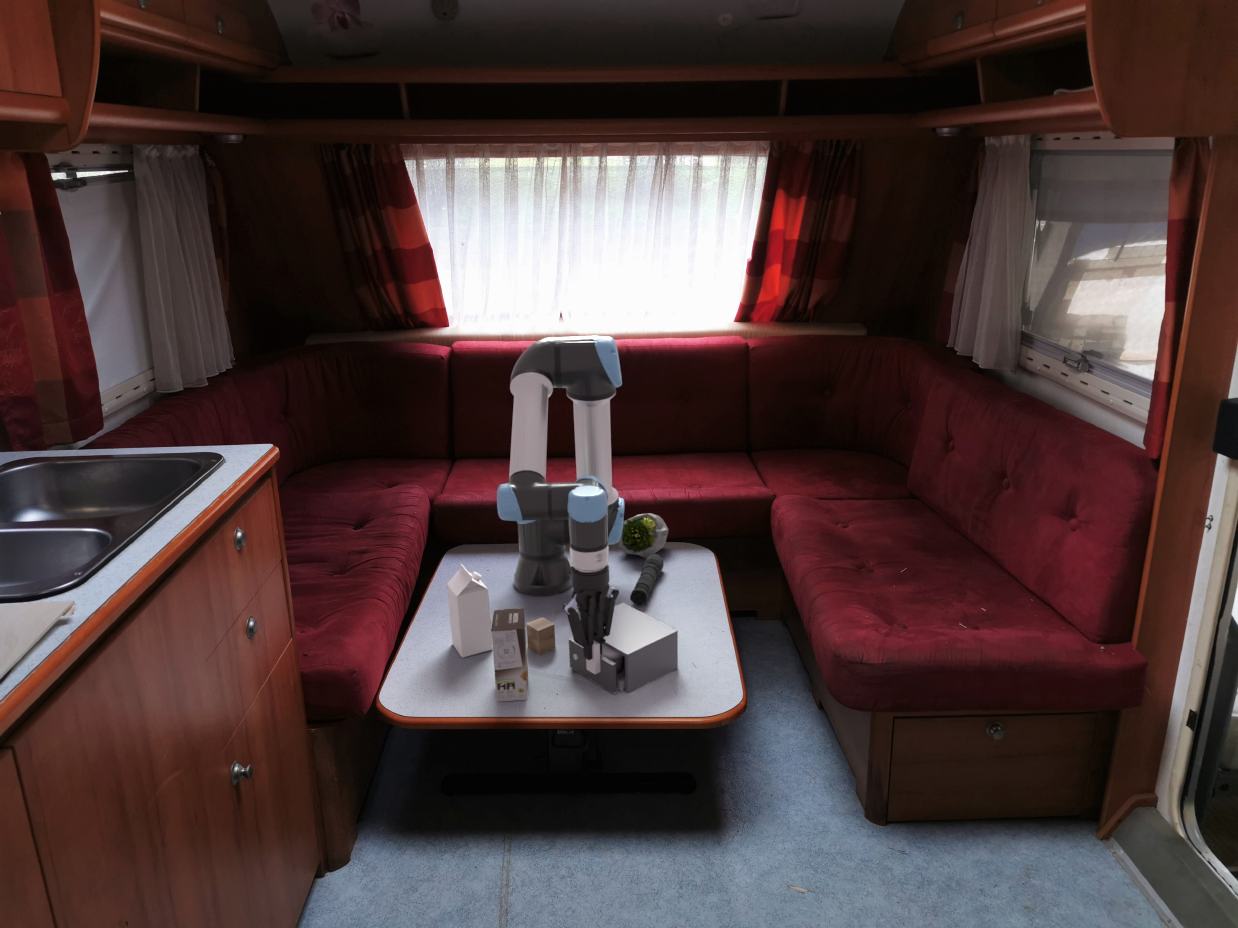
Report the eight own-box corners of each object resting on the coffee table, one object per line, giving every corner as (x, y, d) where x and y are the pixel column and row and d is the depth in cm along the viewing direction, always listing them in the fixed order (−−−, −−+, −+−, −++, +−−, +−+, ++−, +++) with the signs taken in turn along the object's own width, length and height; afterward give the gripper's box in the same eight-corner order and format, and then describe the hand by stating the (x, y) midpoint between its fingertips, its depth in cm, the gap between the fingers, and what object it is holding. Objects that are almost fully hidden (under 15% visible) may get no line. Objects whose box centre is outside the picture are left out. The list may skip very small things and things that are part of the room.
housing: (575, 661, 195) (573, 623, 192) (623, 638, 204) (623, 602, 201) (628, 693, 183) (627, 654, 180) (677, 668, 191) (677, 630, 188)
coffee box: (528, 700, 181) (523, 629, 176) (496, 702, 181) (490, 631, 176) (528, 675, 190) (524, 607, 185) (498, 677, 189) (492, 608, 184)
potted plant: (678, 535, 250) (668, 543, 235) (642, 563, 252) (630, 571, 238) (651, 501, 251) (639, 506, 236) (616, 528, 254) (602, 535, 239)
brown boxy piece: (527, 647, 201) (526, 623, 199) (543, 640, 203) (542, 617, 201) (539, 655, 197) (538, 630, 196) (555, 648, 200) (554, 624, 198)
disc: (582, 648, 189) (581, 641, 189) (611, 636, 194) (611, 629, 193) (606, 664, 183) (605, 656, 183) (636, 650, 188) (636, 643, 187)
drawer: (566, 666, 192) (565, 639, 190) (617, 643, 201) (616, 617, 199) (612, 695, 181) (611, 666, 179) (663, 669, 190) (663, 641, 188)
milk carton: (462, 658, 197) (455, 579, 191) (452, 644, 203) (445, 567, 197) (493, 650, 200) (487, 572, 194) (482, 636, 206) (476, 560, 200)
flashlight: (664, 571, 237) (664, 554, 235) (648, 608, 218) (648, 589, 216) (645, 570, 238) (645, 552, 236) (628, 606, 219) (628, 587, 217)
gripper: (575, 581, 170) (580, 690, 177) (627, 561, 178) (629, 665, 185) (551, 568, 175) (556, 674, 183) (603, 549, 183) (606, 652, 191)
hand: (593, 670), depth 184 cm, fingers closed
